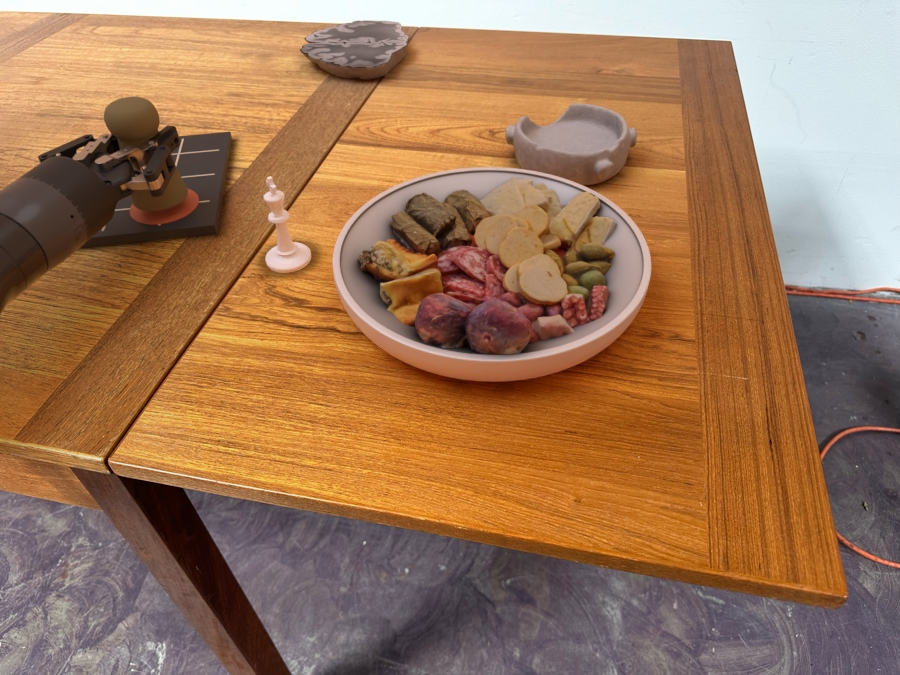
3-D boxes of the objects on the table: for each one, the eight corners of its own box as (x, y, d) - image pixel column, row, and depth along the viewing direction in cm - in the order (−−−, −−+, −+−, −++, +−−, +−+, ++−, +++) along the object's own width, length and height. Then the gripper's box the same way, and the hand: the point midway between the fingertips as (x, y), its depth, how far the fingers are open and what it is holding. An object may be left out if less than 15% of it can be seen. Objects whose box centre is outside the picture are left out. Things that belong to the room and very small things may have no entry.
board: (58, 252, 72) (51, 240, 71) (102, 153, 88) (97, 142, 87) (217, 236, 74) (213, 224, 73) (233, 141, 89) (230, 130, 88)
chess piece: (276, 281, 68) (254, 197, 61) (258, 257, 71) (235, 174, 64) (320, 264, 70) (303, 181, 63) (301, 241, 73) (283, 159, 66)
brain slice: (316, 38, 116) (313, 20, 113) (413, 38, 115) (412, 20, 113) (292, 86, 102) (289, 67, 99) (403, 86, 101) (401, 67, 99)
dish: (491, 163, 84) (493, 126, 80) (560, 125, 91) (563, 90, 87) (585, 207, 77) (590, 168, 73) (651, 162, 83) (659, 125, 80)
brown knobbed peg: (192, 180, 77) (162, 87, 70) (182, 209, 73) (149, 113, 65) (139, 184, 77) (103, 91, 69) (126, 212, 72) (86, 117, 65)
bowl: (349, 209, 77) (341, 147, 72) (606, 199, 78) (616, 137, 72) (325, 408, 56) (310, 342, 50) (680, 393, 56) (703, 326, 51)
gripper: (97, 190, 56) (205, 104, 68) (-38, 169, 59) (88, 90, 71) (128, 261, 61) (223, 170, 73) (2, 238, 64) (113, 154, 76)
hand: (156, 131), depth 72 cm, fingers closed on brown knobbed peg, 4 cm apart
